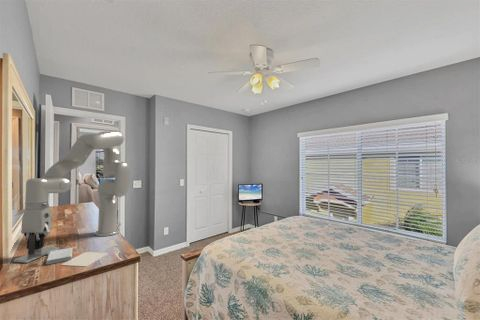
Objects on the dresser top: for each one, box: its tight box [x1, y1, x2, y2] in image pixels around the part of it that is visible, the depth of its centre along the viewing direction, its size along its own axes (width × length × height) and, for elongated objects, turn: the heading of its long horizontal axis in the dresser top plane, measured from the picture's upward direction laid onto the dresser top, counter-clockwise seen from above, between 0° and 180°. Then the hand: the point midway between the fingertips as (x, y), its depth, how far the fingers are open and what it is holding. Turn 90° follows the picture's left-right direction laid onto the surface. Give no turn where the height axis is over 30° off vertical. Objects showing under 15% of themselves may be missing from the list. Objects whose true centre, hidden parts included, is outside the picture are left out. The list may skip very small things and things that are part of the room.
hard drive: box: [45, 247, 74, 265], centre depth 95 cm, size 2×8×12 cm
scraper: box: [13, 233, 60, 263], centre depth 96 cm, size 6×14×9 cm, turn 175°
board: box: [60, 251, 109, 268], centre depth 94 cm, size 13×11×1 cm
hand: (35, 247), depth 96 cm, fingers closed on scraper, 3 cm apart
